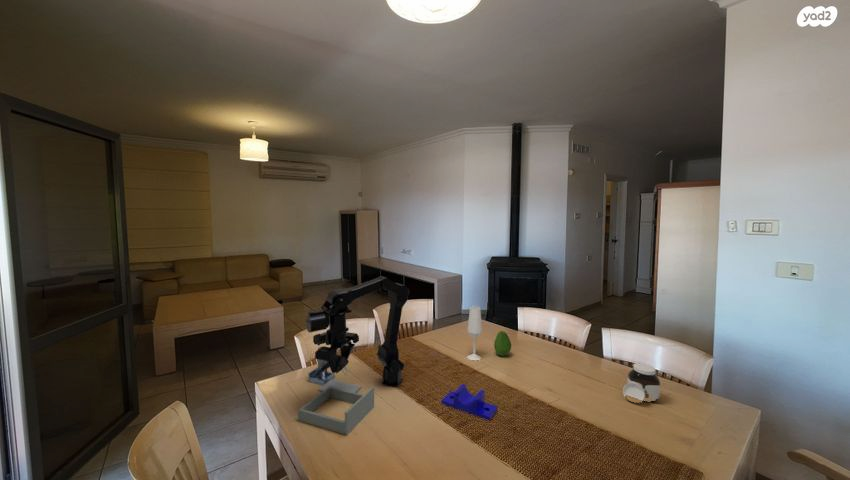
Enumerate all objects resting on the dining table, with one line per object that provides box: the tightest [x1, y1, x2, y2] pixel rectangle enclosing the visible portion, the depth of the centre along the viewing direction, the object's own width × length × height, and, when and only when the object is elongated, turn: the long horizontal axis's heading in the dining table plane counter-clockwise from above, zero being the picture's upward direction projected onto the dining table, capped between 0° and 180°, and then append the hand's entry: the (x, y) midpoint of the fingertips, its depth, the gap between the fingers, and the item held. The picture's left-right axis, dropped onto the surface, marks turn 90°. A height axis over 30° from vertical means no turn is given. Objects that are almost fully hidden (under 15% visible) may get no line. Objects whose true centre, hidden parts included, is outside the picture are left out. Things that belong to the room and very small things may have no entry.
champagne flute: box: [466, 305, 483, 362], centre depth 154 cm, size 7×7×24 cm
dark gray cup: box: [317, 345, 328, 380], centre depth 132 cm, size 4×4×12 cm
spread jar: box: [622, 362, 661, 403], centre depth 121 cm, size 12×11×12 cm
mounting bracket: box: [441, 383, 498, 421], centre depth 115 cm, size 18×7×6 cm, turn 58°
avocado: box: [493, 330, 512, 357], centre depth 157 cm, size 8×8×12 cm
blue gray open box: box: [307, 366, 336, 386], centre depth 133 cm, size 8×7×4 cm
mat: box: [317, 379, 362, 393], centre depth 125 cm, size 14×8×1 cm, turn 69°
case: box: [297, 386, 375, 436], centre depth 110 cm, size 19×16×7 cm
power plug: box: [315, 354, 350, 376], centre depth 117 cm, size 6×8×12 cm
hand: (338, 368), depth 117 cm, fingers closed on power plug, 6 cm apart
